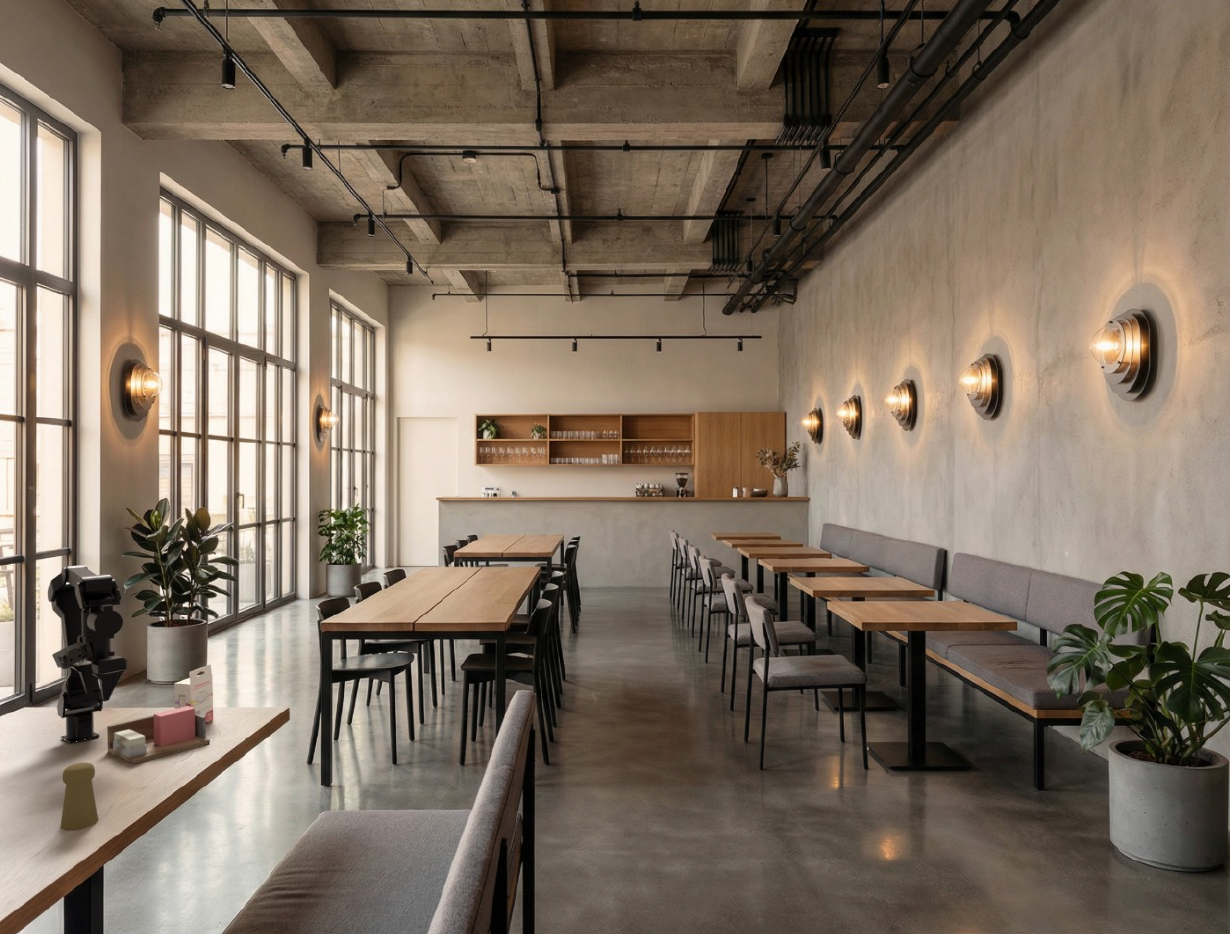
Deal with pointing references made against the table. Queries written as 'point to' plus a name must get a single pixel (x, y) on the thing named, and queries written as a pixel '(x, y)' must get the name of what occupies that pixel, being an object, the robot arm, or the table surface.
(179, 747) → the shelf
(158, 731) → the tall dusty pink block
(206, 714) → the ink cartridge box
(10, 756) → the table surface
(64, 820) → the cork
